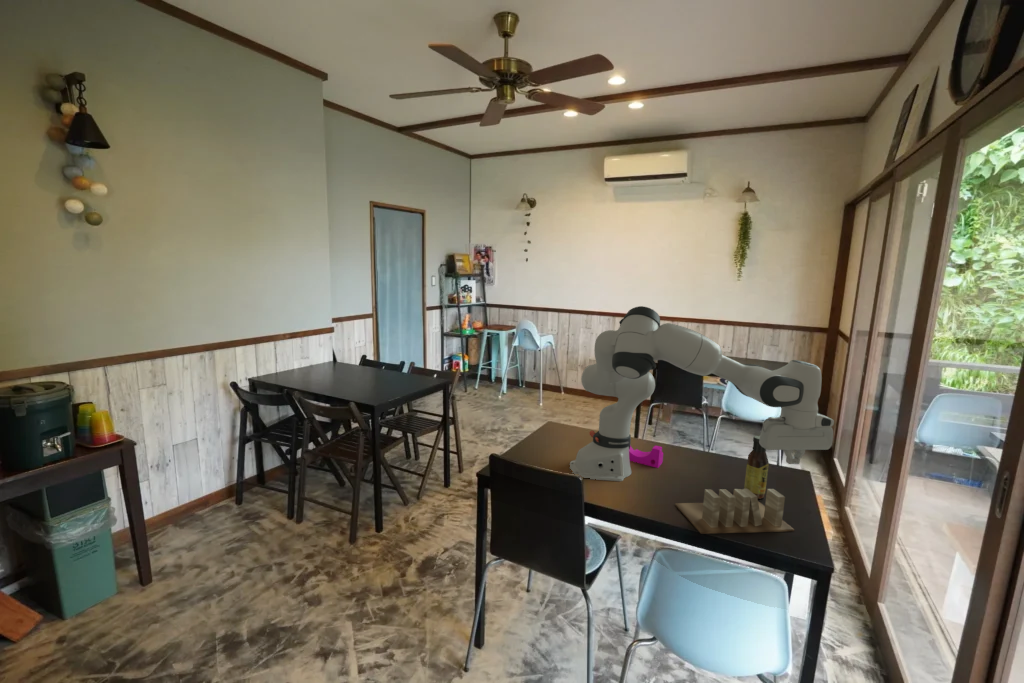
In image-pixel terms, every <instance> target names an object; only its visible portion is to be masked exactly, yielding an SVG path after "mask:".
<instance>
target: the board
mask: <svg viewBox="0 0 1024 683" xmlns="http://www.w3.org/2000/svg"><path fill="white" fill-rule="evenodd" d="M703 503H704V502H679V503H674V504H675V507H676V508H677V509H678V510H679V511H680V512H681V513H682V514H683V516H685V517H686V519H687V520H688V521H689V522H690V523H691V524H692V526H693V527H694V528H695V529H696V530H697V532H698V533H700V534H706V535H707V534H709V535H710V534H737V533H739V534H740V533H744V534H746V533H773V532H775V533H776V532H779V533H781V532H783V533H784V532H795V528H793V527H792V526H791V525H790V524H788V523H787V521H785V520H783V519H782V525H781V526H774V525H773V524H771V523H770V522H769V521H768V520H766V519H765V518H764V511H765V504H763V503H762V502H760V501H758V504H759V510H760V516H761V521H762V525H758V526H755V525H753V524H752V523H751V522H750V521H749V520H748V525H747V527H741V526H739V525H738V524H737V523H736V522H735V521H734V520H733V527H725V526H724V525H723V524H722V523H721V522H720V521H719V520H718V527H710V526H709V525H708V524H707V523H706V522H705V521H704V520H703V519H702V513H703Z"/></svg>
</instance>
